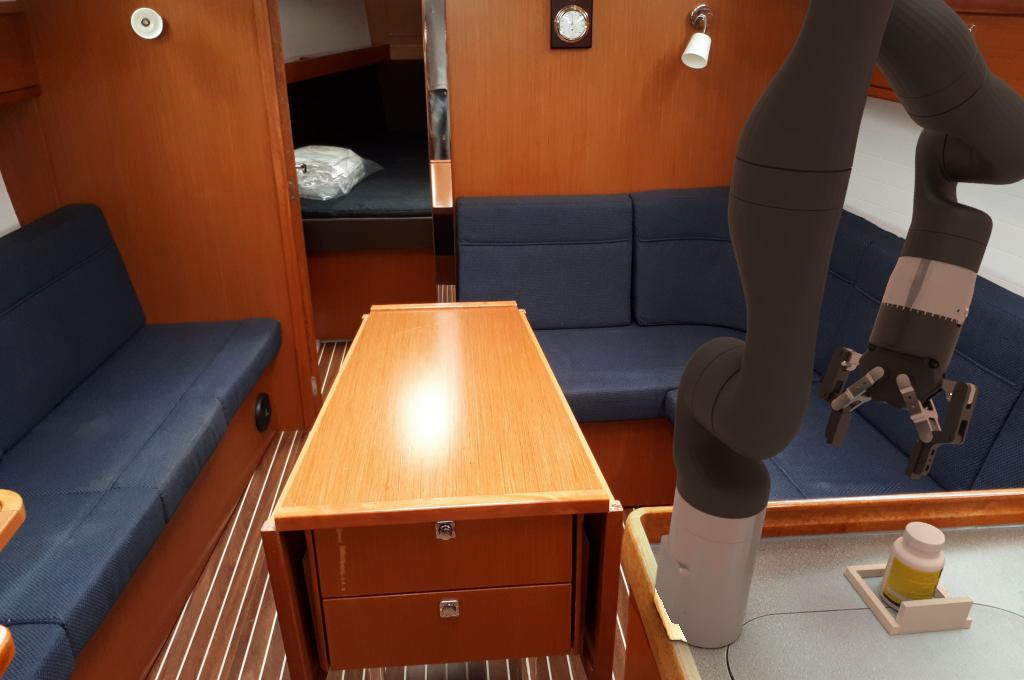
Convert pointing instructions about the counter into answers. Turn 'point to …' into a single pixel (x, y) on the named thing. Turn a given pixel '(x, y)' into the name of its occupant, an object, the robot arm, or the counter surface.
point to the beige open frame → (912, 606)
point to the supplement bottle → (913, 565)
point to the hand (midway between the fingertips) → (871, 461)
